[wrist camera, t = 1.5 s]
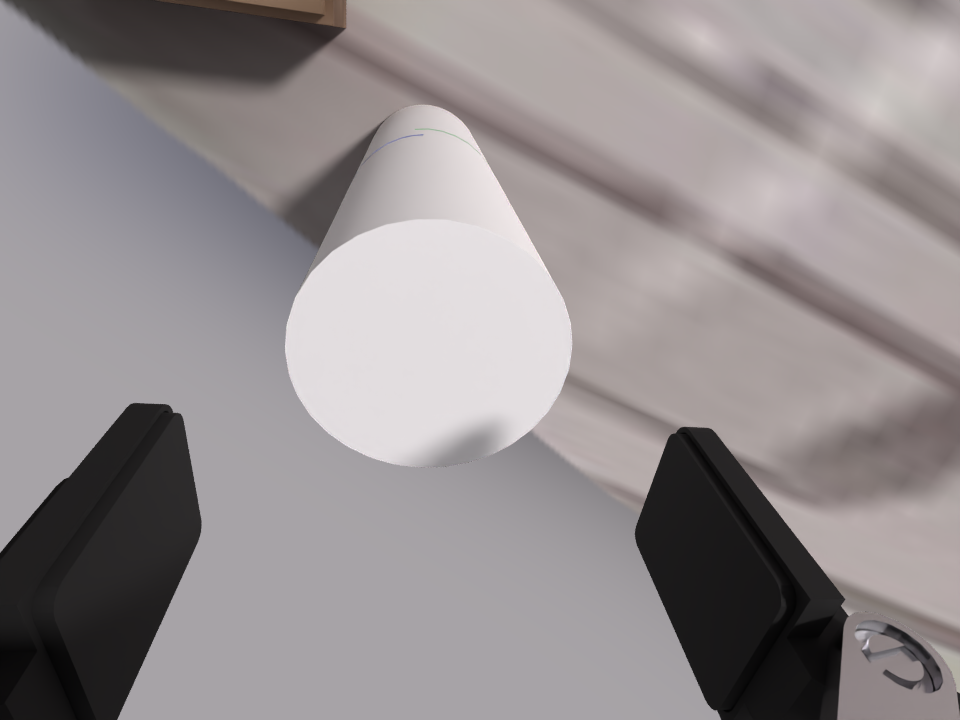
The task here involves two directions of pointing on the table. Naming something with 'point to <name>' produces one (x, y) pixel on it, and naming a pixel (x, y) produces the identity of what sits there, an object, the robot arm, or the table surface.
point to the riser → (280, 9)
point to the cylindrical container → (427, 306)
